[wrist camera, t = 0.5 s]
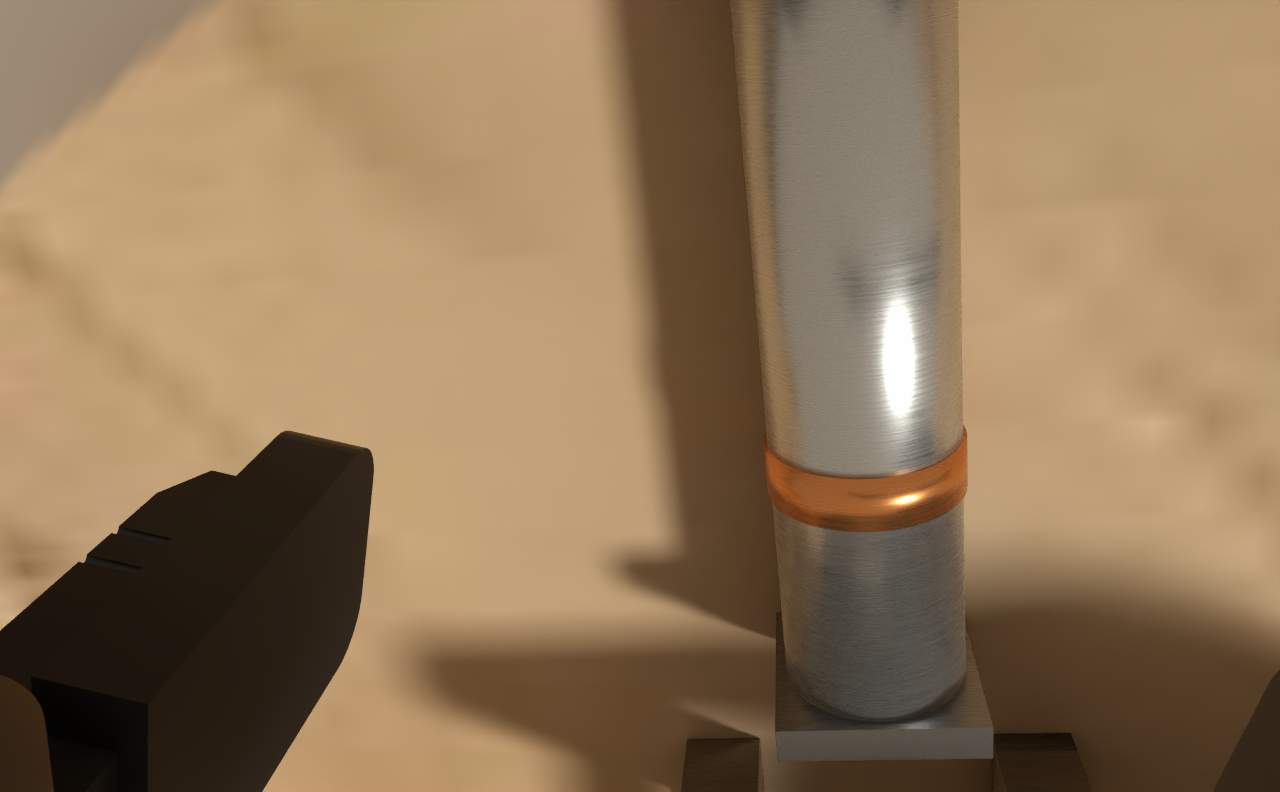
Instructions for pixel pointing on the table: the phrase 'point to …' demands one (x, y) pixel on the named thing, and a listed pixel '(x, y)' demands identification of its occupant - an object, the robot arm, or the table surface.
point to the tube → (862, 371)
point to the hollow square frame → (1021, 766)
